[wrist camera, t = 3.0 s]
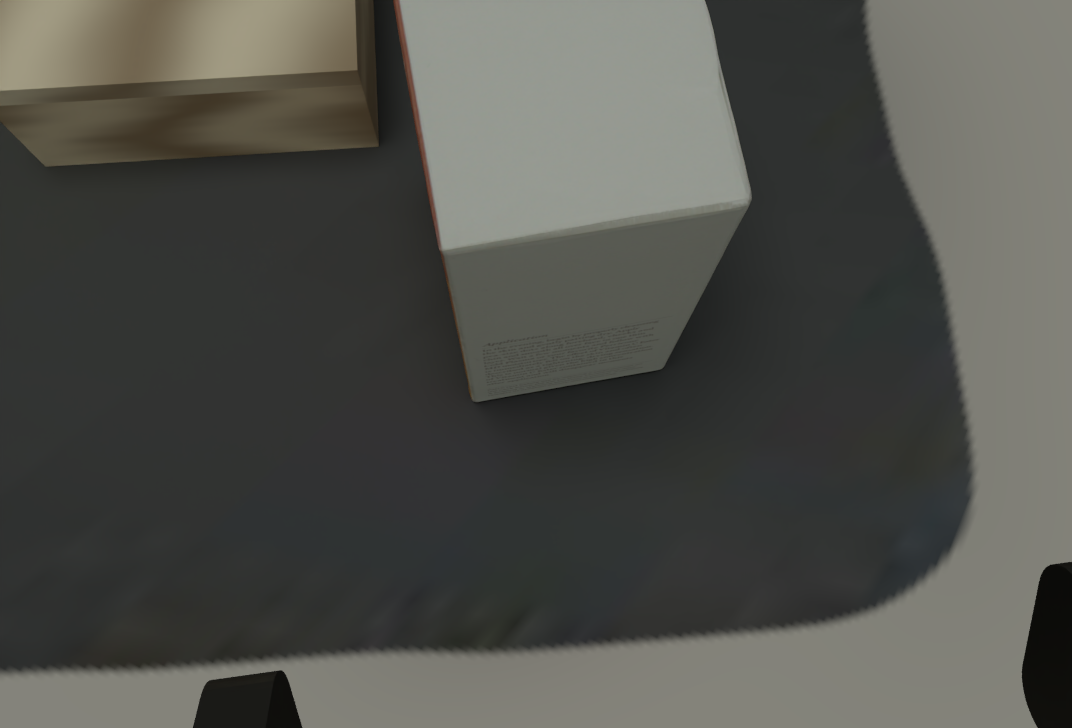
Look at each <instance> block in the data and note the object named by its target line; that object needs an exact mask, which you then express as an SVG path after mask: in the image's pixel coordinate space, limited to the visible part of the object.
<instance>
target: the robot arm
mask: <svg viewBox="0 0 1072 728" xmlns="http://www.w3.org/2000/svg"><path fill="white" fill-rule="evenodd" d="M1022 682H1023V689H1024V694H1025V698H1026V702H1027V705H1028V708H1029V711H1030V713H1031V715H1032V718H1033V720H1034V722H1035V724H1036V725H1037V727H1038V728H1072V562H1068V563H1060V564H1053V565H1050V566H1048V567H1046V568H1045V570H1044V571H1043V573H1042V575H1041V577H1040V581H1039V585H1038V590H1037V596H1036V600H1035V605H1034V610H1033V615H1032V621H1031V626H1030V631H1029V636H1028V641H1027V646H1026V651H1025V656H1024V661H1023V667H1022ZM193 728H302V726H301V722H300V719H299V715H298V712H297V709H296V705H295V701H294V698H293V695H292V691H291V688H290V685H289V682H288V679H287V677H286V675H285V673H284V672H283V671H274V672H266V673H260V674H253V675H245V676H238V677H231V678H224V679H217V680H210V681H208V682H207V683H206V685H205V686H204V689H203V691H202V694H201V698H200V702H199V706H198V710H197V714H196V718H195V722H194V726H193Z"/></svg>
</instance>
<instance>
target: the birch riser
mask: <svg viewBox="0 0 1072 728" xmlns="http://www.w3.org/2000/svg"><path fill="white" fill-rule="evenodd" d="M0 121H1V122H2V123H3V124H4V125H5V126H6V127H7V128H8V129H9V130H10V132H11V133H12V134H13V135H14V136H15V137H16V138H17V139H18V140H19V141H20V142H21V143H22V144H23V145H24V146H25V147H26V148H27V149H28V150H29V151H30V152H31V153H32V154H33V155H34V156H35V157H36V158H37V159H38V160H39V161H40V162H41V163H42V164H43V165H44V166H45V167H47V166H63V165H80V164H97V163H113V162H130V161H147V160H163V159H180V158H197V157H214V156H230V155H247V154H264V153H280V152H297V151H314V150H330V149H347V148H364V147H379V135H378V109H377V82H376V56H375V30H374V3H373V0H0Z"/></svg>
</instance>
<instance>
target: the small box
mask: <svg viewBox="0 0 1072 728" xmlns="http://www.w3.org/2000/svg"><path fill="white" fill-rule="evenodd" d="M393 2H394V8H395V14H396V20H397V27H398V33H399V38H400V44H401V50H402V55H403V61H404V67H405V72H406V78H407V83H408V89H409V94H410V100H411V106H412V111H413V117H414V122H415V128H416V133H417V139H418V144H419V149H420V154H421V159H422V164H423V169H424V174H425V179H426V185H427V191H428V197H429V202H430V208H431V213H432V218H433V223H434V227H435V231H436V236H437V242H438V247H439V250H440V253H441V257H442V261H443V266H444V270H445V275H446V280H447V285H448V290H449V294H450V299H451V304H452V309H453V313H454V317H455V322H456V327H457V332H458V337H459V342H460V346H461V351H462V356H463V361H464V366H465V371H466V376H467V380H468V386H469V392H470V396H471V399H472V401H474V402H481V401H486V400H491V399H497V398H503V397H508V396H514V395H519V394H525V393H531V392H536V391H542V390H548V389H553V388H559V387H564V386H570V385H576V384H581V383H587V382H593V381H598V380H604V379H610V378H616V377H622V376H627V375H633V374H639V373H645V372H650V371H656V370H660V369H662V368H663V367H664V366H665V364H666V362H667V360H668V358H669V356H670V354H671V352H672V351H673V349H674V347H675V345H676V343H677V341H678V339H679V337H680V335H681V333H682V332H683V330H684V328H685V326H686V324H687V322H688V320H689V318H690V316H691V314H692V313H693V311H694V309H695V307H696V305H697V303H698V301H699V299H700V297H701V295H702V294H703V292H704V290H705V288H706V286H707V284H708V282H709V280H710V278H711V276H712V274H713V272H714V270H715V269H716V267H717V265H718V263H719V261H720V259H721V257H722V255H723V253H724V251H725V249H726V247H727V245H728V243H729V241H730V240H731V238H732V236H733V234H734V232H735V230H736V228H737V227H738V225H739V223H740V221H741V219H742V217H743V216H744V214H745V212H746V210H747V208H748V207H749V204H750V202H751V199H752V197H751V189H750V185H749V181H748V176H747V172H746V167H745V163H744V159H743V155H742V151H741V147H740V143H739V138H738V134H737V130H736V126H735V122H734V118H733V114H732V111H731V107H730V103H729V99H728V94H727V90H726V86H725V82H724V78H723V75H722V71H721V66H720V62H719V57H718V52H717V47H716V42H715V37H714V31H713V27H712V23H711V19H710V16H709V12H708V9H707V6H706V3H705V0H393Z"/></svg>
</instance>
